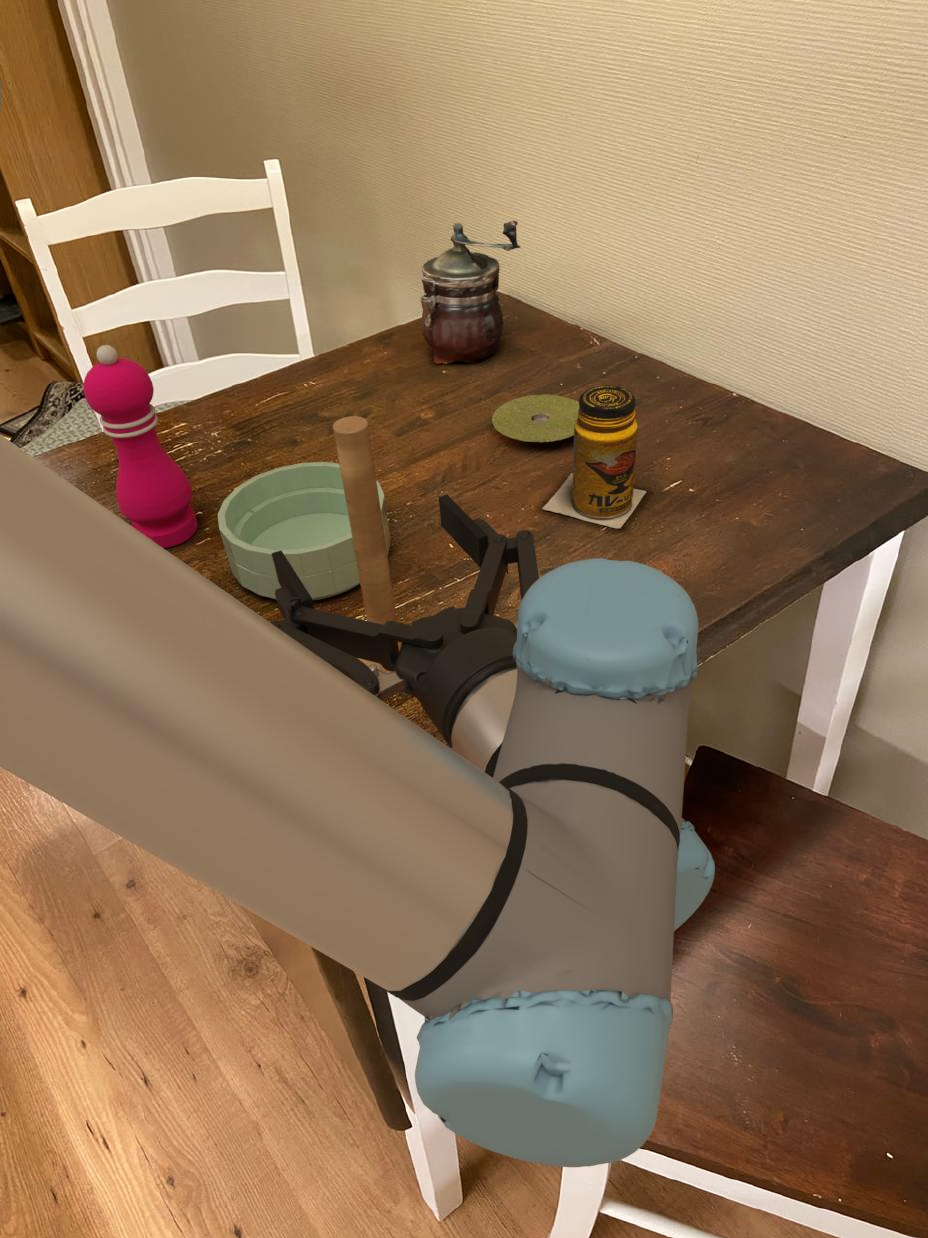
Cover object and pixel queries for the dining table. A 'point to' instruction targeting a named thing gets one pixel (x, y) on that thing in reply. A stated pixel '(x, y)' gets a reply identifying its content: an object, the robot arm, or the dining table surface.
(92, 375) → the pepper mill
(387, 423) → the dining table surface
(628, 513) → the condiment
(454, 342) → the coffee grinder
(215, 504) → the dining table surface
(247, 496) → the bowl
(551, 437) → the olive green flat disc
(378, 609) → the wooden post with base
